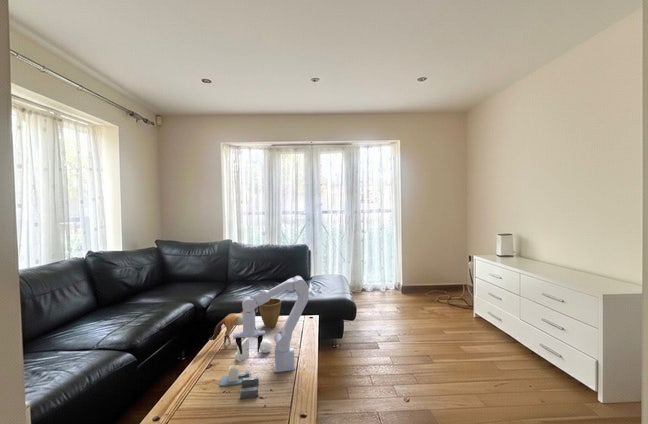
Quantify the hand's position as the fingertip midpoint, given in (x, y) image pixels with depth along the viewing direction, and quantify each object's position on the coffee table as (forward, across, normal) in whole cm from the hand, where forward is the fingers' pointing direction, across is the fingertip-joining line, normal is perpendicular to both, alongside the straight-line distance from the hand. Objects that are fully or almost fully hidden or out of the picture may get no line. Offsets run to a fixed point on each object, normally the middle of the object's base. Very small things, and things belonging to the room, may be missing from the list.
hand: (249, 352), depth 141 cm
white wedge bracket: (+10, -5, +15) cm, 18 cm away
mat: (+9, -6, -6) cm, 12 cm away
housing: (+9, 0, -15) cm, 18 cm away
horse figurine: (+10, -10, +37) cm, 40 cm away
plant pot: (+10, +11, +56) cm, 58 cm away
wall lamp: (+9, -5, -5) cm, 11 cm away
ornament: (+10, +7, +19) cm, 22 cm away
